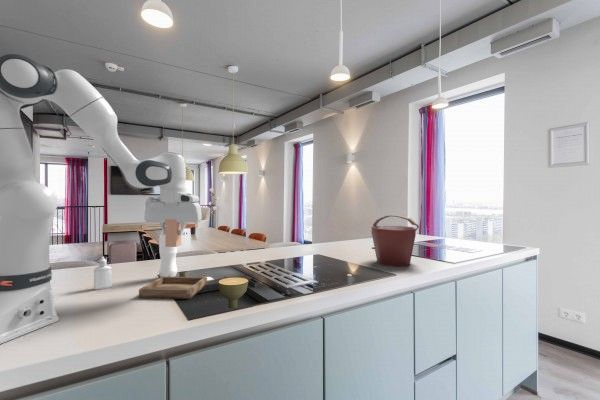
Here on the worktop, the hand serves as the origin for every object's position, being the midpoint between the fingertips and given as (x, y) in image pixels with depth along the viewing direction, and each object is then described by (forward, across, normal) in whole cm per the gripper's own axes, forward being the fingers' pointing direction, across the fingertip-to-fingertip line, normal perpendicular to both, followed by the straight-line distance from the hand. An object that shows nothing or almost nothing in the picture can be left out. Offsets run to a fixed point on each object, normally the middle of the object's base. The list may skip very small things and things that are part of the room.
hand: (173, 234), depth 110 cm
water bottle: (+21, -10, +17) cm, 29 cm away
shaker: (+4, 0, 0) cm, 4 cm away
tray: (+21, +1, 0) cm, 21 cm away
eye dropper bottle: (+21, -28, +2) cm, 35 cm away
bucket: (+21, +94, +50) cm, 108 cm away
